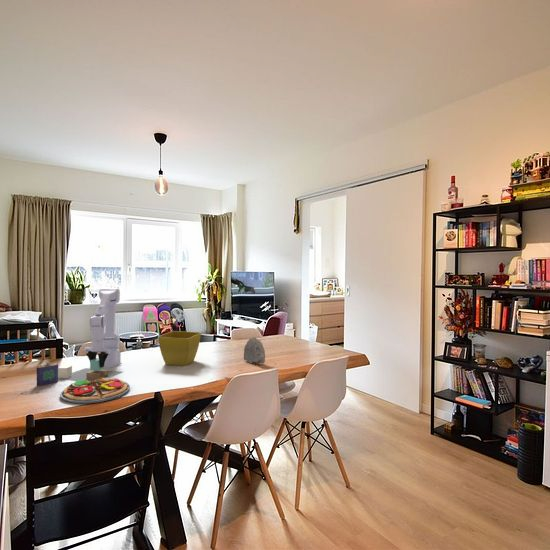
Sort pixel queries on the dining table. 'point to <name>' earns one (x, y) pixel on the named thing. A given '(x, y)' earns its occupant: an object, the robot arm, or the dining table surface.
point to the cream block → (64, 371)
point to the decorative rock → (254, 351)
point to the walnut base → (97, 374)
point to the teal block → (95, 365)
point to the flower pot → (179, 347)
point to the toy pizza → (94, 390)
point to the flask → (47, 374)
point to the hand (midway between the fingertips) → (97, 366)
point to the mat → (82, 375)
